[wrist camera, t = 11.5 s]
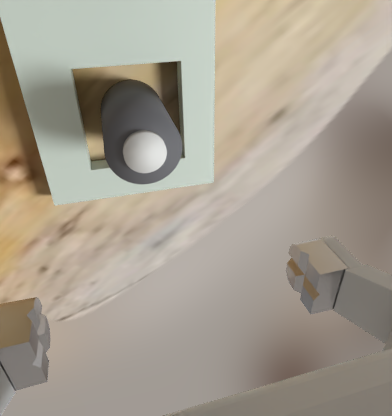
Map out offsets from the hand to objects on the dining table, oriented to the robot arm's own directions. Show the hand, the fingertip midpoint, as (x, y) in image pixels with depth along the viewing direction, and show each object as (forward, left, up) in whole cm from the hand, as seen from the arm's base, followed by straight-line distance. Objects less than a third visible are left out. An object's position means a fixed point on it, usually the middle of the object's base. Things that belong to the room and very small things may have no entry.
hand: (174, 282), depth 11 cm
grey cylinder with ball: (0, 0, -18) cm, 18 cm away
